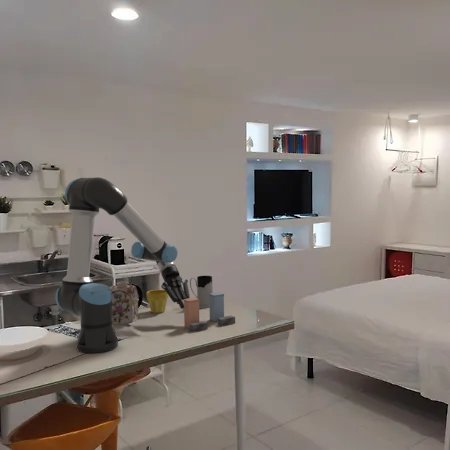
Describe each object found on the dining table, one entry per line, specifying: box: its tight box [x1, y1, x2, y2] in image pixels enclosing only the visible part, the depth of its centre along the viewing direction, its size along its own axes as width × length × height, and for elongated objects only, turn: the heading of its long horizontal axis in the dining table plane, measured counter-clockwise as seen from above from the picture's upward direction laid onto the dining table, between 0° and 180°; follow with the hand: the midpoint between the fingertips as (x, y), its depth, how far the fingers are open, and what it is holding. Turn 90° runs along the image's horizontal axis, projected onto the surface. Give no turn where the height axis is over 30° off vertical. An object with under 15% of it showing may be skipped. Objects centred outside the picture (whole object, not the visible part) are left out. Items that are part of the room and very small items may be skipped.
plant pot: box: [146, 289, 169, 314], centre depth 232 cm, size 10×10×10 cm
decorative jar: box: [109, 281, 139, 326], centre depth 214 cm, size 12×12×18 cm
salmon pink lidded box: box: [183, 297, 200, 329], centre depth 201 cm, size 5×4×12 cm
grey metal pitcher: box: [189, 275, 214, 309], centre depth 242 cm, size 9×14×15 cm, turn 53°
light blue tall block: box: [209, 291, 225, 322], centre depth 210 cm, size 5×4×12 cm
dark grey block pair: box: [189, 315, 236, 333], centre depth 205 cm, size 26×14×4 cm, turn 125°
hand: (188, 313), depth 203 cm, fingers closed
